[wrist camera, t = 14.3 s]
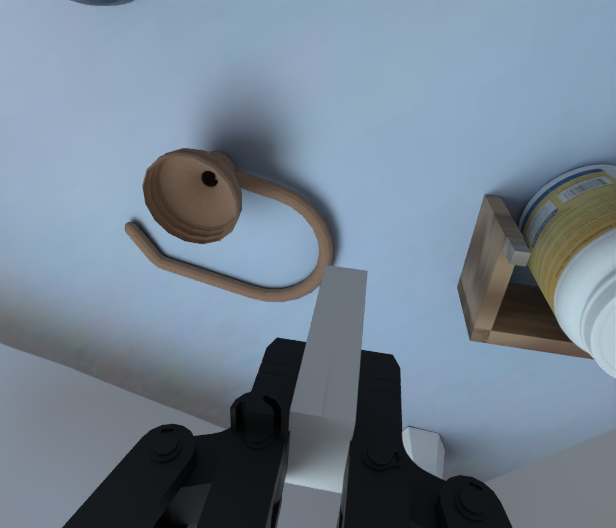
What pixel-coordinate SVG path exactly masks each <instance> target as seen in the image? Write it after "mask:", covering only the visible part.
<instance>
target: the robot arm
mask: <svg viewBox="0 0 616 528" xmlns="http://www.w3.org/2000/svg"><path fill="white" fill-rule="evenodd" d="M71 1H74V2H78V3H81V4H86V5H95V6H112V5H121V4H125V3H128V2H131V1H133V0H71ZM366 283H367V271H365V270H358V269H350V268H343V267H336V266H329V265H325V268H324V272H323V276H322V280H321V285H320V289H319V293H318V297H317V301H316V305H315V309H314V313H313V318H312V322H311V326H310V330H309V334H308V338H307V342H302V341H296V340H289V339H283V338H276V339H275V340H274V341H273V342H272V343H271V344H270V345H269V346H268V347H267V348H266V351H265V354H264V357H263V359H262V363H261V365H260V368H259V371H258V374H257V376H256V379H255V382H254V385H253V388H252V391H251V392H249V393H245V394H243V395H242V396H240V397H239V398H237V399H236V400H235V401H234V403H233V404H232V406H231V407H230V417H231V427H230V428H229V429H227V430H224V431H222V432H218V433H214V434H207V435H199V436H193V434H192V432H191V431H190V430H188V429H187V428H186V427H184V426H181V425H177V424H167V425H161V426H159V427H156V428H154V429H152V430H150V431H149V432H148V433H147V434H146V435H144V436H143V437H142V438H141V439H140V441H139V442H138V443H137V444H136V445H135V446H134V447H133V449H131V451H130V452H129V453H128V454H127V455H126V456H125V457H124V458H123V460H122V461H121V462H120V463H119V464H118V465H117V466H116V467H115V469H114V470H113V471H112V472H111V473H110V474H109V476H107V478H106V479H105V480H104V481H103V482H102V483H101V484H100V485H99V487H98V488H97V489H96V490H95V491H94V492H93V493H92V495H91V496H90V497H89V498H88V499H87V500H86V501H85V502H84V504H83V505H82V506H81V507H80V508H79V509H78V510H77V511H76V513H75V514H74V515H73V516H72V517H71V518H70V519H69V520H68V522H67V523H66V524H65V525H64V526H63V528H195V527H196V528H277V523H278V519H279V514H280V509H281V503H282V492H283V487H284V482H286V483H291V484H296V485H301V486H307V487H312V488H317V489H322V490H327V491H333V492H338V493H342V498H341V506H340V512H339V517H338V522H337V528H512V525H511V523H510V521H509V519H508V517H507V515H506V512H505V510H504V508H503V506H502V504H501V502H500V500H499V499H498V498H497V496H496V494H495V493H494V491H492V490H491V489H490V488H489V487H488V486H487V485H486V484H484V483H483V482H481V481H479V480H477V479H475V478H473V477H469V476H462V475H459V476H455V477H451V478H449V479H448V480H447V481H445V480H443V479H441V478H439V477H437V476H435V475H433V474H431V473H429V472H427V471H425V470H424V469H422V468H420V467H419V466H418V465H417V464H416V463H415V462H413V461H412V459H411V458H410V457H409V455H408V454H407V452H406V450H405V448H404V445H403V439H402V409H401V385H400V383H401V377H400V367H399V365H398V363H397V361H396V360H395V358H394V356H393V355H391V354H385V353H378V352H372V351H366V350H361V345H362V333H363V320H364V308H365V295H366ZM196 525H197V526H196Z"/></svg>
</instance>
